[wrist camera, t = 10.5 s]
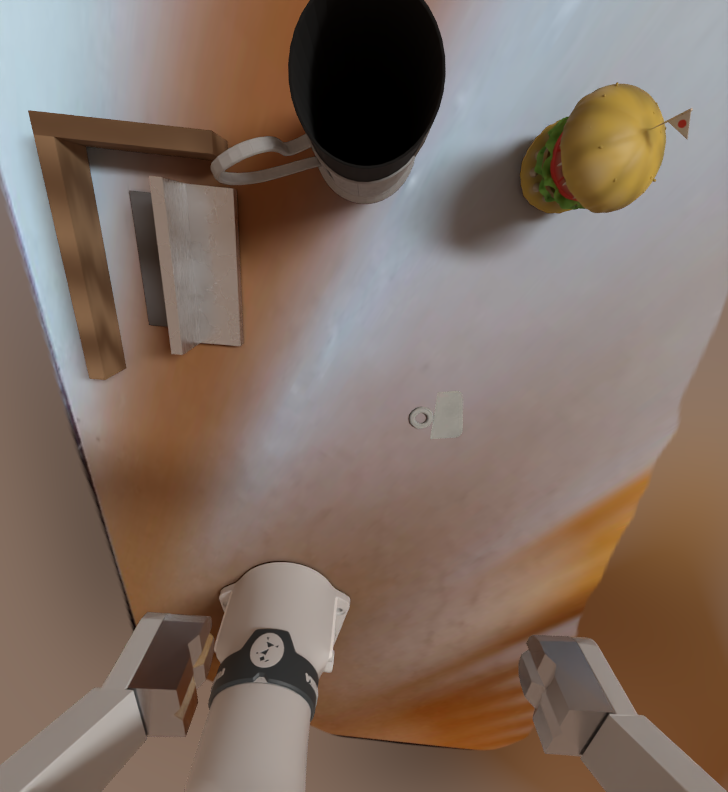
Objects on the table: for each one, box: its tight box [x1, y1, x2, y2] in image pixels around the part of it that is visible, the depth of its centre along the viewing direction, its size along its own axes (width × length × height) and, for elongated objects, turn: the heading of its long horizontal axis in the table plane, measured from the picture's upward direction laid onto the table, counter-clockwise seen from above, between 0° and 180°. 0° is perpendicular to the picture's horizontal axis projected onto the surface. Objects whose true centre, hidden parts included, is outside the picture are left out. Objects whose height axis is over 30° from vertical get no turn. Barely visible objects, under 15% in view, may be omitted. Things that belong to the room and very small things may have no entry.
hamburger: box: [520, 82, 693, 213], centre depth 26 cm, size 8×7×12 cm
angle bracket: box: [149, 176, 244, 355], centre depth 33 cm, size 14×5×5 cm, turn 175°
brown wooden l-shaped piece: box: [28, 110, 228, 380], centre depth 33 cm, size 22×14×4 cm, turn 175°
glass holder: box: [211, 0, 445, 204], centre depth 25 cm, size 9×14×15 cm, turn 112°
